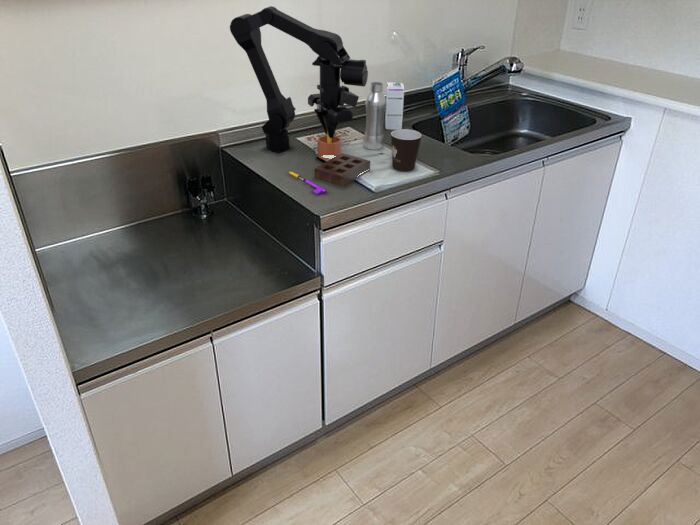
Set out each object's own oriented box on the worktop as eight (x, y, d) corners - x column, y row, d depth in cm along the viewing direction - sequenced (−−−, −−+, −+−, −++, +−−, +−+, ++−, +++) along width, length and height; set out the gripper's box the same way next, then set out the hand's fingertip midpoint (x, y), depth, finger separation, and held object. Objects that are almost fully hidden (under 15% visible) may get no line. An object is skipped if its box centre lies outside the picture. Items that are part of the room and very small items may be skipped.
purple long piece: (327, 192, 148) (291, 172, 158) (326, 188, 147) (290, 169, 157) (319, 197, 147) (284, 177, 157) (318, 193, 146) (283, 173, 156)
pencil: (326, 155, 169) (326, 122, 163) (328, 154, 170) (328, 121, 164) (329, 156, 168) (330, 123, 162) (332, 155, 169) (332, 122, 163)
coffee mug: (419, 173, 160) (422, 140, 155) (389, 172, 160) (391, 139, 155) (416, 158, 170) (419, 126, 165) (387, 157, 170) (390, 125, 165)
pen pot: (312, 157, 168) (312, 140, 165) (326, 150, 173) (326, 133, 170) (332, 163, 165) (332, 145, 162) (345, 156, 170) (345, 138, 167)
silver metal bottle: (359, 150, 174) (362, 85, 163) (367, 143, 179) (370, 79, 169) (379, 153, 172) (383, 88, 161) (386, 146, 177) (390, 82, 167)
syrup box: (402, 130, 190) (405, 87, 183) (384, 129, 190) (387, 86, 183) (401, 124, 195) (404, 82, 187) (384, 123, 195) (386, 81, 187)
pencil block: (314, 179, 155) (314, 167, 153) (342, 164, 165) (342, 152, 163) (343, 188, 151) (343, 176, 149) (369, 172, 160) (370, 160, 158)
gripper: (370, 88, 153) (368, 143, 162) (341, 71, 167) (340, 122, 176) (333, 92, 149) (333, 148, 157) (306, 75, 163) (307, 127, 171)
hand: (329, 136), depth 165 cm, fingers closed
